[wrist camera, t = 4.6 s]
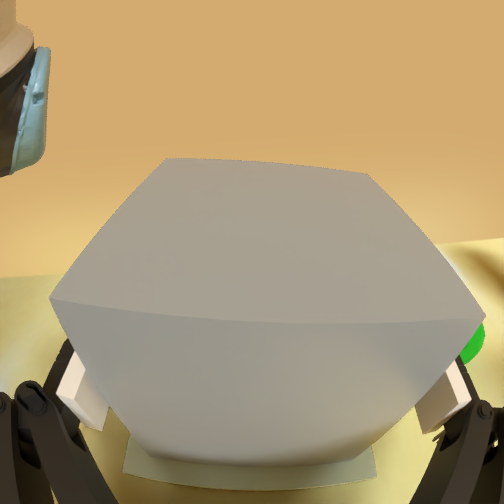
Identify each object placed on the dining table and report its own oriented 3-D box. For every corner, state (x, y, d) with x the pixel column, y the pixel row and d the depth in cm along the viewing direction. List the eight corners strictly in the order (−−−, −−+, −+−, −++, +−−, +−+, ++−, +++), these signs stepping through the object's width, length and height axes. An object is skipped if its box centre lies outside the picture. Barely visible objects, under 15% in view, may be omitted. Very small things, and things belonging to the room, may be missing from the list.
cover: (149, 456, 12) (48, 297, 6) (180, 316, 21) (166, 158, 15) (351, 460, 12) (485, 315, 6) (325, 323, 22) (367, 174, 15)
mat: (124, 473, 11) (121, 471, 11) (167, 305, 23) (166, 302, 23) (374, 478, 12) (377, 476, 11) (337, 314, 23) (338, 311, 23)
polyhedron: (473, 367, 18) (503, 329, 15) (438, 385, 17) (471, 345, 14) (446, 329, 22) (469, 289, 19) (410, 340, 21) (434, 297, 18)
